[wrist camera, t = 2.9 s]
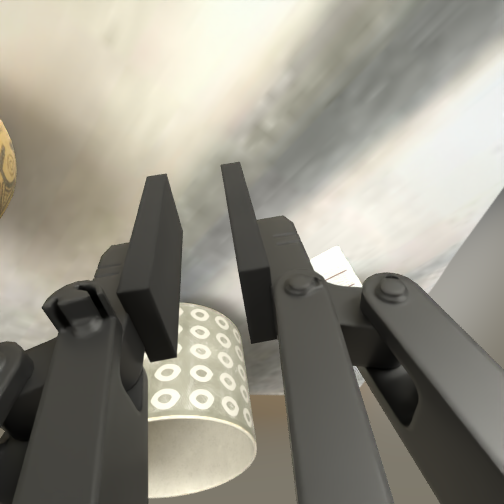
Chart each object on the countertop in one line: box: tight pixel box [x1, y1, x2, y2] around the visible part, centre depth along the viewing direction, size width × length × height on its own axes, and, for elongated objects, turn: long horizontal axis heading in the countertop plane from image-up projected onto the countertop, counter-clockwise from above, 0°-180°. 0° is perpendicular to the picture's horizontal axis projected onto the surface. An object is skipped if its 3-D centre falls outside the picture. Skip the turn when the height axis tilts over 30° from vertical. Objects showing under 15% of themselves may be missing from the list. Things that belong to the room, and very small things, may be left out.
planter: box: [143, 303, 257, 498], centre depth 44 cm, size 19×19×18 cm
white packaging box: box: [310, 246, 363, 287], centre depth 43 cm, size 7×7×13 cm
